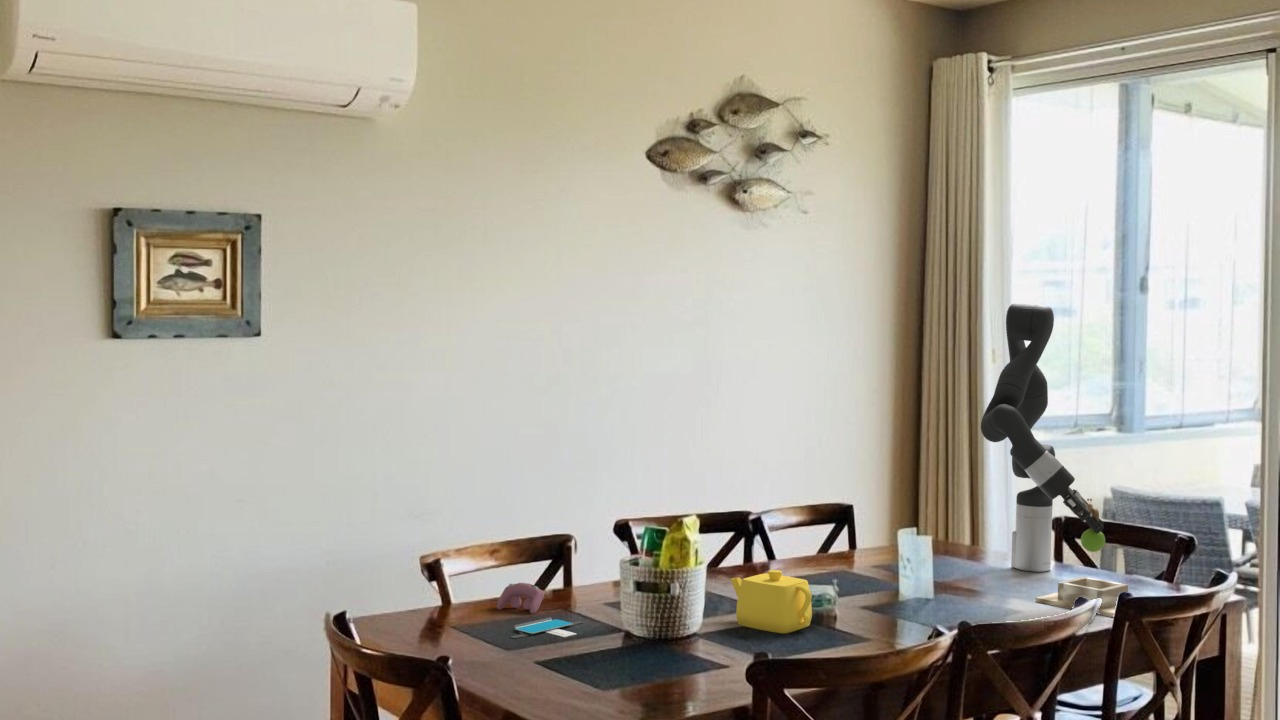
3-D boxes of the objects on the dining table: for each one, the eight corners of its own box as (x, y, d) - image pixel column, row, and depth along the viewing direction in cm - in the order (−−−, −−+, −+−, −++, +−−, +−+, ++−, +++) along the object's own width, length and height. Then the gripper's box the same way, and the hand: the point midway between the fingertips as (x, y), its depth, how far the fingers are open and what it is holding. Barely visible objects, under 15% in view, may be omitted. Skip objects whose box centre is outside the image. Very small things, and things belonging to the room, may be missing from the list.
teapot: (715, 621, 294) (716, 567, 293) (748, 612, 303) (749, 560, 303) (793, 637, 281) (795, 581, 280) (825, 627, 291) (826, 572, 290)
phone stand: (534, 647, 271) (535, 638, 271) (495, 636, 279) (495, 628, 279) (603, 630, 286) (604, 622, 286) (564, 620, 294) (564, 613, 294)
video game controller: (541, 618, 300) (548, 587, 302) (532, 612, 296) (540, 581, 299) (502, 613, 304) (510, 583, 306) (493, 608, 300) (501, 577, 303)
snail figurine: (1098, 549, 320) (1100, 498, 320) (1108, 554, 314) (1110, 502, 313) (1075, 548, 320) (1077, 498, 320) (1084, 553, 314) (1086, 501, 313)
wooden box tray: (1035, 601, 319) (1036, 580, 319) (1072, 593, 330) (1072, 572, 330) (1114, 617, 305) (1115, 595, 304) (1149, 607, 315) (1150, 586, 315)
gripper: (1060, 467, 312) (1113, 523, 308) (1062, 461, 325) (1113, 514, 322) (1035, 489, 314) (1088, 544, 310) (1038, 481, 327) (1088, 534, 324)
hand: (1100, 528), depth 316 cm, fingers closed on snail figurine, 5 cm apart
